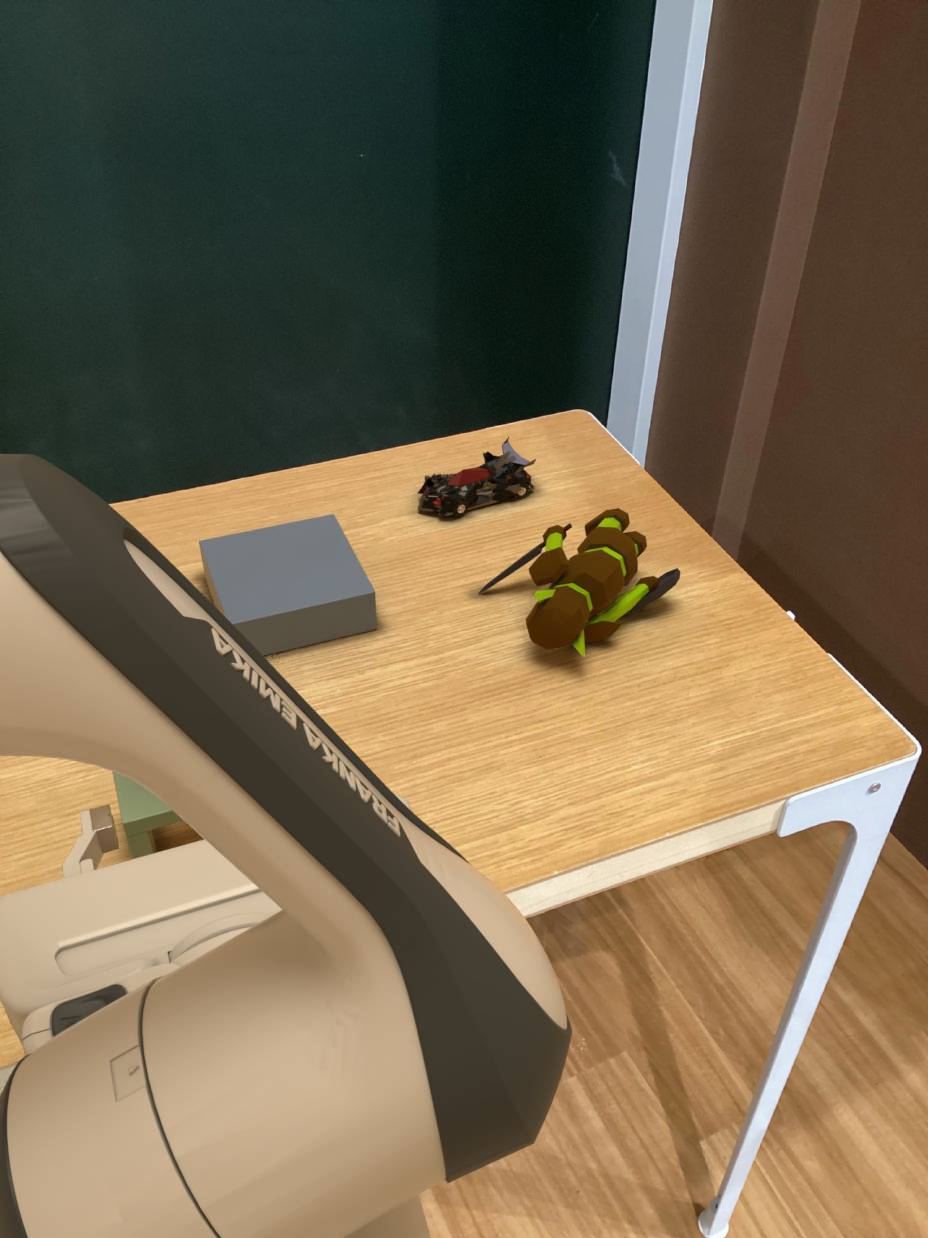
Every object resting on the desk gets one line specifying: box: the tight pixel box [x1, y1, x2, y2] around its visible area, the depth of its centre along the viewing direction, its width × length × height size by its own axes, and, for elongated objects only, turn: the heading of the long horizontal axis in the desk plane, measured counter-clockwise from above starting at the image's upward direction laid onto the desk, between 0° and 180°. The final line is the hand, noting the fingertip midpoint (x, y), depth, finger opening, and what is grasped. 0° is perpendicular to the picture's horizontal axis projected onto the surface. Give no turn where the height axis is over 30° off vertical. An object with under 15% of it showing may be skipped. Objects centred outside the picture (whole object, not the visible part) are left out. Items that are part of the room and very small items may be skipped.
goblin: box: [477, 507, 681, 658], centre depth 89 cm, size 10×14×15 cm
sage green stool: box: [112, 772, 185, 860], centre depth 68 cm, size 8×9×10 cm
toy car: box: [417, 436, 537, 518], centre depth 103 cm, size 6×12×4 cm, turn 119°
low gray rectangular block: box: [198, 513, 378, 657], centre depth 90 cm, size 12×12×4 cm
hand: (190, 791), depth 56 cm, fingers open, 8 cm apart
